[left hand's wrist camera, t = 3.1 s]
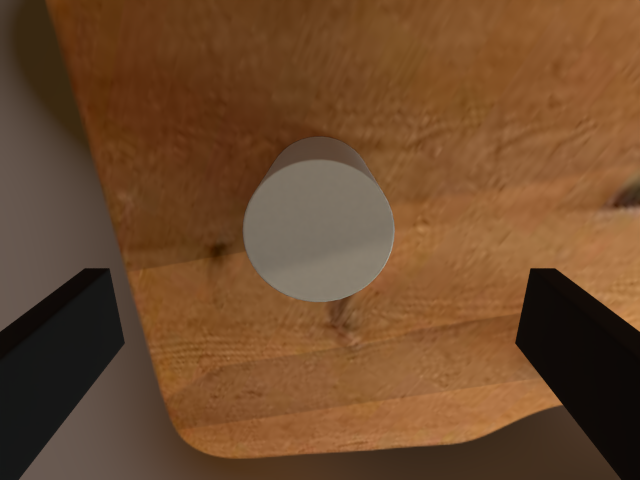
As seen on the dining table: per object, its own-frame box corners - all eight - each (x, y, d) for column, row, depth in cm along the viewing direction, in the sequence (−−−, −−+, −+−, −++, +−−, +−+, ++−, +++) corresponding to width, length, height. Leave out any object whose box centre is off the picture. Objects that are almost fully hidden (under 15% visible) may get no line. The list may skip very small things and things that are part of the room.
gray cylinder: (297, 254, 29) (287, 323, 20) (248, 166, 27) (213, 202, 18) (387, 212, 28) (417, 266, 19) (343, 116, 26) (355, 130, 17)
